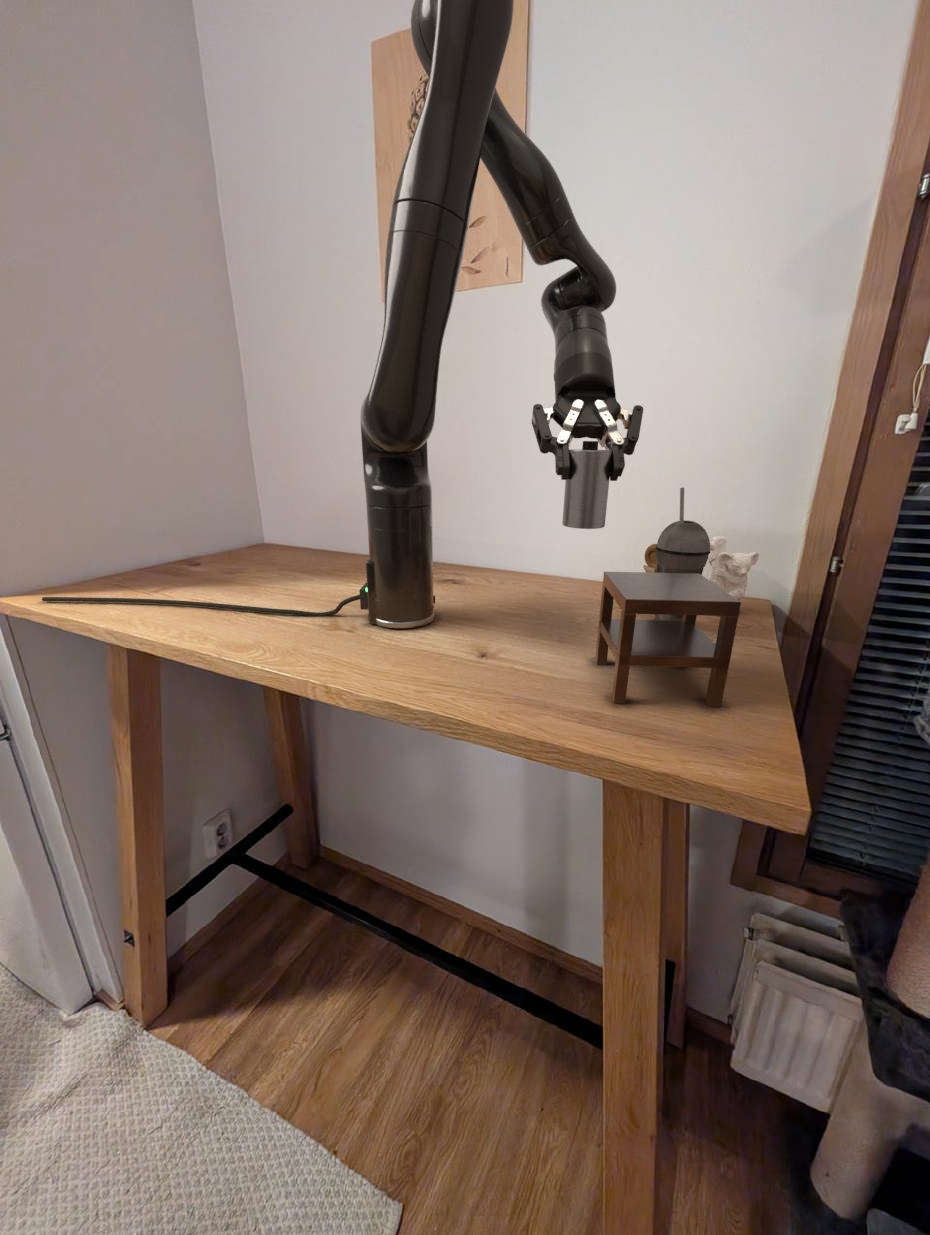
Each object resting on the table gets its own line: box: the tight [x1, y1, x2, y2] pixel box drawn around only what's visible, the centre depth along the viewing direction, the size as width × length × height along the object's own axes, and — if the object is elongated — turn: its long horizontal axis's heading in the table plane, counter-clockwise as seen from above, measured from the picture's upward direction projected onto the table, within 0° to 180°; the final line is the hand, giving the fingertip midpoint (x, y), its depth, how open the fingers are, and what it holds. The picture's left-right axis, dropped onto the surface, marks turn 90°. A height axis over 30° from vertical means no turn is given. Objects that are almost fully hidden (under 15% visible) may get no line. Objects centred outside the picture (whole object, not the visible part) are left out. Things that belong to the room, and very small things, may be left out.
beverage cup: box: [654, 487, 711, 621], centre depth 73 cm, size 7×7×20 cm
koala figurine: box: [708, 534, 760, 601], centre depth 81 cm, size 8×7×12 cm
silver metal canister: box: [561, 440, 612, 530], centre depth 63 cm, size 5×5×10 cm
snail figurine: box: [643, 543, 657, 573], centre depth 83 cm, size 5×6×12 cm
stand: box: [594, 571, 742, 708], centre depth 57 cm, size 11×11×12 cm
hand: (590, 475), depth 61 cm, fingers closed on silver metal canister, 5 cm apart
